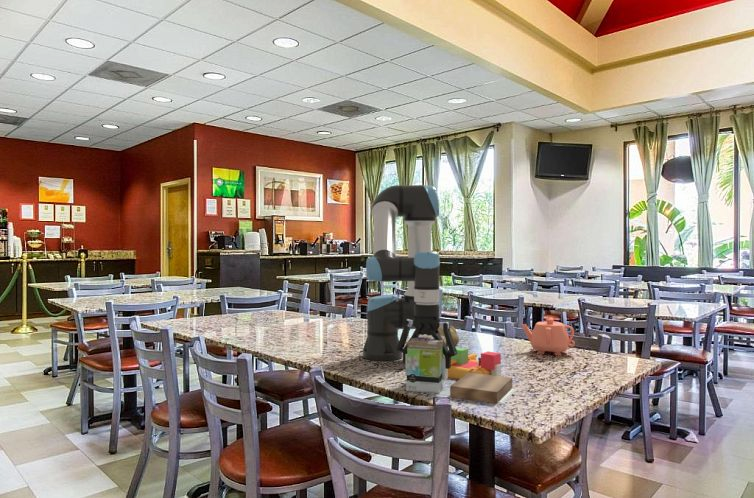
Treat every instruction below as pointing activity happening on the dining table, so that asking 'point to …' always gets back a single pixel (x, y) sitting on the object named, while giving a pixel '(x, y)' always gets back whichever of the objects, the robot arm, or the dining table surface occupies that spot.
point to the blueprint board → (502, 401)
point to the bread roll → (453, 333)
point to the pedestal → (481, 387)
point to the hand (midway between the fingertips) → (426, 377)
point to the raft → (474, 364)
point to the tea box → (424, 364)
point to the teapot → (549, 337)
